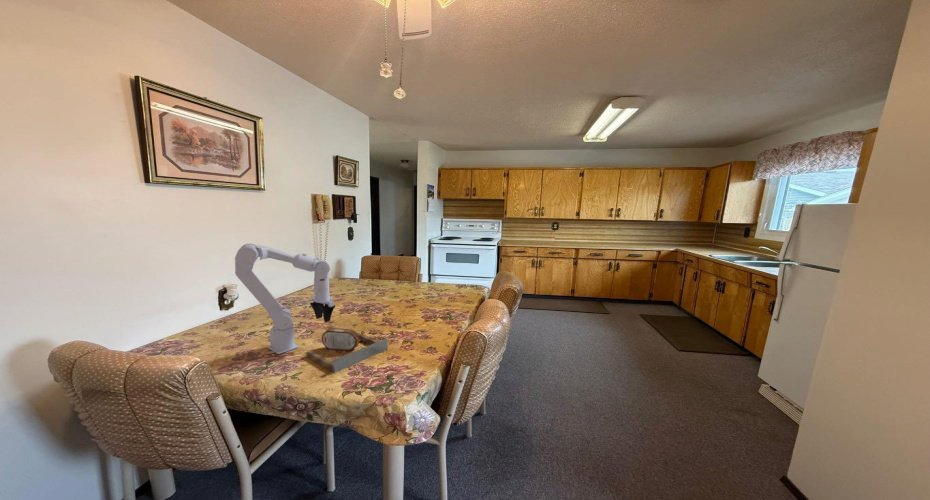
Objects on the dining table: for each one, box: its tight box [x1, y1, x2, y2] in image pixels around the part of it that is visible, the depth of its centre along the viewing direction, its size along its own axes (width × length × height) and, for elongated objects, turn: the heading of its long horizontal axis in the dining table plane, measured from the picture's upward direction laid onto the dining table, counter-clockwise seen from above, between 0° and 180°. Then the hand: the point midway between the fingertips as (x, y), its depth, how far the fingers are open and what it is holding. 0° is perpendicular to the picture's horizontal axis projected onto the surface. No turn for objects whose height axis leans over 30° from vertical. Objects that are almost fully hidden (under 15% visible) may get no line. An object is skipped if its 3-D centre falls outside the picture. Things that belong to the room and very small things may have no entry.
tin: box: [321, 327, 361, 352], centre depth 121 cm, size 15×3×8 cm, turn 84°
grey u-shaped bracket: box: [306, 332, 389, 374], centre depth 118 cm, size 19×23×4 cm
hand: (323, 319), depth 128 cm, fingers open, 6 cm apart
